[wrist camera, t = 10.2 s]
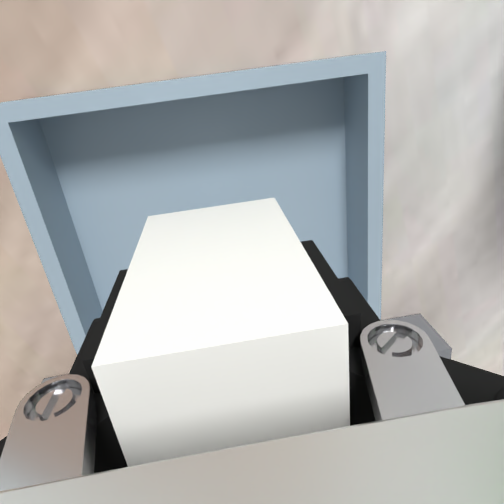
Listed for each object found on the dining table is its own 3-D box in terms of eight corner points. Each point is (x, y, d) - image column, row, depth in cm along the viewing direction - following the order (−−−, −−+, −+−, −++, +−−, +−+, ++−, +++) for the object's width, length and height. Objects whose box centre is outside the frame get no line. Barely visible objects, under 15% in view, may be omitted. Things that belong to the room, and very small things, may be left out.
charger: (264, 180, 15) (348, 324, 6) (276, 288, 16) (351, 508, 8) (155, 196, 14) (91, 366, 6) (180, 303, 16) (157, 545, 8)
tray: (354, 55, 16) (385, 51, 13) (356, 308, 21) (380, 344, 18) (20, 99, 15) (-19, 105, 12) (107, 351, 20) (92, 394, 17)
